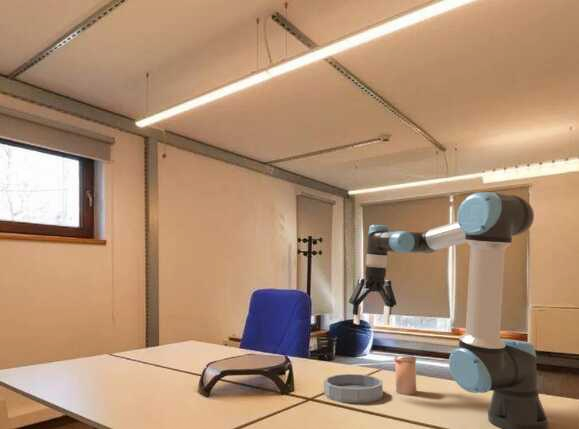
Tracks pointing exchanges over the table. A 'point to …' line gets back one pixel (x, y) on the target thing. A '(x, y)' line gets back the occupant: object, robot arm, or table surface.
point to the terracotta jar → (405, 374)
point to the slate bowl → (353, 388)
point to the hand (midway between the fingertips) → (371, 323)
